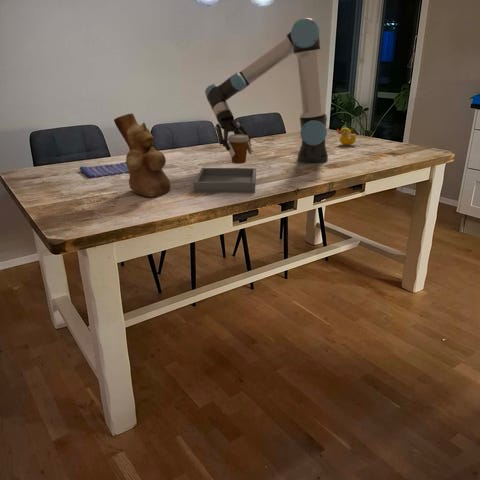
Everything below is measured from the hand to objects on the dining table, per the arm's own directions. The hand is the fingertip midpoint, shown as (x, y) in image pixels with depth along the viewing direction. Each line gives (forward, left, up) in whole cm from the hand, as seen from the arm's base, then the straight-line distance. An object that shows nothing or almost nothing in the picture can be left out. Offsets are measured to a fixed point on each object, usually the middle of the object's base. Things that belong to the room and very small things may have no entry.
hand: (242, 154), depth 207 cm
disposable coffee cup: (+2, -3, -5) cm, 5 cm away
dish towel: (+63, -1, -9) cm, 63 cm away
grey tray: (+6, +20, -8) cm, 23 cm away
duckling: (-57, -66, -9) cm, 88 cm away
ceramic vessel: (+38, +31, -9) cm, 50 cm away
